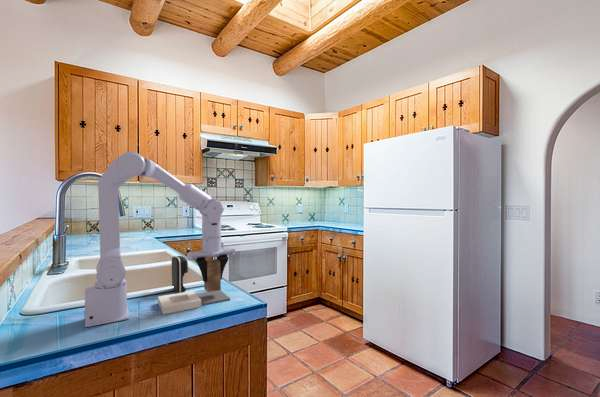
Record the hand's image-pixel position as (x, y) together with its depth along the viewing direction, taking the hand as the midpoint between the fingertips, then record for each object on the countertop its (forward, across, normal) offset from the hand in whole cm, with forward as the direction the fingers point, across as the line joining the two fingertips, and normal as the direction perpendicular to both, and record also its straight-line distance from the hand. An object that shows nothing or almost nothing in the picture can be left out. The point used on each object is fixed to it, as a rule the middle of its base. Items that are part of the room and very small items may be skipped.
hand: (212, 280), depth 96 cm
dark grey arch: (+6, -7, +14) cm, 17 cm away
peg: (+3, 0, 0) cm, 3 cm away
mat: (+6, 0, 0) cm, 6 cm away
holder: (+6, -10, -1) cm, 11 cm away
